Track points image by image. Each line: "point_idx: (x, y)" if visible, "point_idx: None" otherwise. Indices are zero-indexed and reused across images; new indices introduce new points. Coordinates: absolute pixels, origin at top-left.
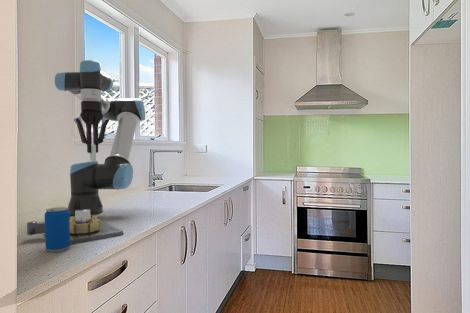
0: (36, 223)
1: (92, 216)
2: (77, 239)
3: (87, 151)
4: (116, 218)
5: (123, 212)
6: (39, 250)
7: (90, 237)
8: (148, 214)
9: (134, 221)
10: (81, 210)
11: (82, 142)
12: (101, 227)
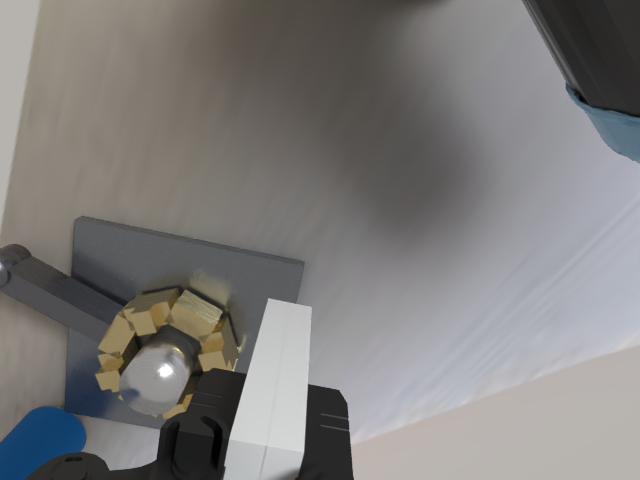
0: (4, 284)
1: (203, 368)
2: (118, 420)
3: (198, 389)
4: (420, 195)
5: (546, 85)
6: (15, 398)
7: (158, 426)
8: (563, 244)
9: (420, 313)
10: (146, 382)
11: (54, 473)
12: (245, 350)
